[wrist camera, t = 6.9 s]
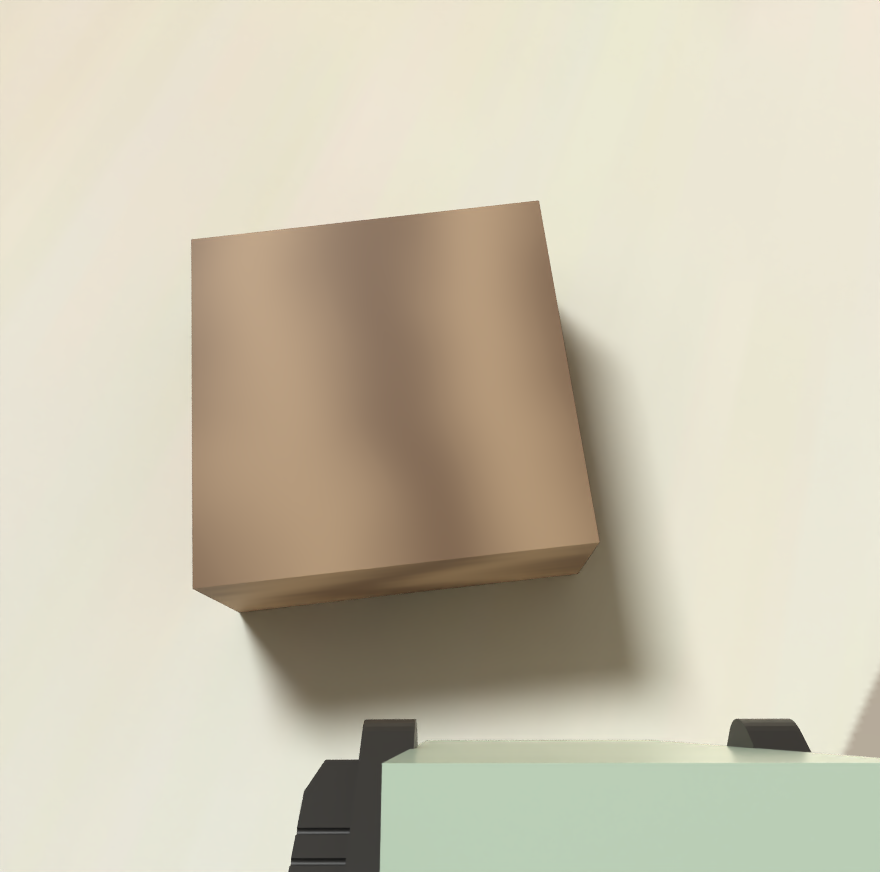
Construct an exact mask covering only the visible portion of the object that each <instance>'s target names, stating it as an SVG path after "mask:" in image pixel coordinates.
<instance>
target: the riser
mask: <svg viewBox="0 0 880 872" xmlns="http://www.w3.org/2000/svg"><path fill="white" fill-rule="evenodd" d="M191 271H192V544H193V589H194V590H196V591H198V592H200V593H202V594H204V595H206V596H208V597H210V598H212V599H214V600H216V601H218V602H220V603H222V604H224V605H226V606H228V607H230V608H232V609H234V610H236V611H238V612H247V611H256V610H265V609H274V608H282V607H291V606H300V605H309V604H317V603H326V602H335V601H344V600H352V599H361V598H370V597H379V596H387V595H396V594H405V593H414V592H422V591H431V590H440V589H449V588H458V587H466V586H475V585H484V584H493V583H501V582H510V581H519V580H528V579H536V578H545V577H554V576H563V575H571V574H578V573H579V571H580V570H581V569H582V567H583V566H584V564H585V563H586V561H587V560H588V558H589V557H590V556H591V554H592V553H593V551H594V550H595V548H596V547H597V545H598V544H599V543H600V541H599V536H598V530H597V524H596V519H595V513H594V508H593V502H592V496H591V491H590V485H589V480H588V474H587V468H586V463H585V457H584V451H583V446H582V440H581V435H580V429H579V423H578V418H577V412H576V407H575V401H574V395H573V390H572V384H571V378H570V373H569V367H568V362H567V356H566V350H565V345H564V339H563V334H562V328H561V322H560V317H559V311H558V305H557V300H556V294H555V289H554V283H553V277H552V272H551V266H550V261H549V255H548V249H547V244H546V238H545V232H544V227H543V221H542V216H541V210H540V204H539V201H530V202H521V203H513V204H504V205H495V206H486V207H477V208H468V209H459V210H450V211H441V212H432V213H424V214H415V215H406V216H397V217H388V218H379V219H370V220H361V221H352V222H343V223H335V224H326V225H317V226H308V227H299V228H290V229H281V230H272V231H263V232H255V233H246V234H237V235H228V236H219V237H210V238H201V239H192V240H191Z"/></svg>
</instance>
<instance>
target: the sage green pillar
mask: <svg viewBox="0 0 880 872" xmlns="http://www.w3.org/2000/svg"><path fill="white" fill-rule="evenodd" d="M380 872H880V758H874V757H861V756H849V755H836V754H823V753H811V752H798V751H785V750H773V749H760V748H743V747H731V746H722V745H709V744H697V743H684V742H671V741H659V740H426V741H424V742H422V743H420V744H419V745H418V747H416V748H414V749H409V750H407V751H405V752H403V753H401V754H399V755H397V756H395V757H393V758H391V759H389V760H388V761H386V762H384V763H382V792H381V841H380Z"/></svg>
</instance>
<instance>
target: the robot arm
mask: <svg viewBox="0 0 880 872" xmlns="http://www.w3.org/2000/svg"><path fill="white" fill-rule="evenodd" d="M727 746H731V747H743V748H760V749H773V750H785V751H798V752H811V751H810V749H809V747H808V745H807V743H806V741H805V739H804V737H803V735H802V733H801V731H800V729H799V728H798V726H797V725H796V723H795V722H794V721H793V720H791V719H735V720H734V721H733V722H732V724H731V727H730V732H729V738H728V743H727ZM416 747H418V742H417V722H416V719H382V720H365V721H364V725H363V731H362V739H361V747H360V754H359V760H325V761H324V763H323V764H322V766H321V767H320V769H319V770H318V772H317V773H316V775H315V776H314V778H313V779H312V780H311V782H310V783H309V785H308V786H307V788H306V789H305V791H304V795H303V800H302V805H301V810H300V815H299V820H298V826H297V835H296V836H295V841H294V846H293V851H292V856H291V866H290V867H289V872H380V841H381V792H382V763H384V762H386V761H388V760H389V759H391V758H393V757H395V756H397V755H399V754H401V753H403V752H405V751H407V750H409V749H414V748H416Z"/></svg>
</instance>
